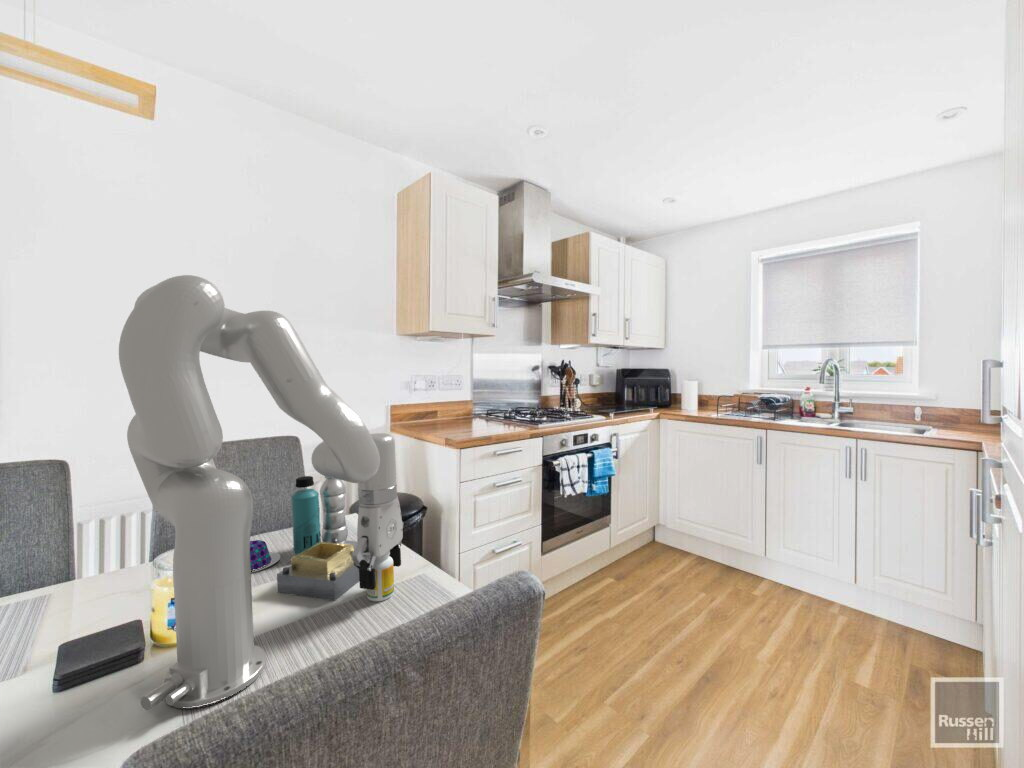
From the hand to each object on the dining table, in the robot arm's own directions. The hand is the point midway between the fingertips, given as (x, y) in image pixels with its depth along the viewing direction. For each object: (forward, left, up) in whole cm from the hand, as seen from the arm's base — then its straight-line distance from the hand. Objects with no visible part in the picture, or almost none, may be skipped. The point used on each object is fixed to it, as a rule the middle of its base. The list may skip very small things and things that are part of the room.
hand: (381, 576), depth 89 cm
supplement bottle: (0, 0, -4) cm, 4 cm away
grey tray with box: (+6, +15, -4) cm, 17 cm away
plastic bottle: (+21, +27, -4) cm, 34 cm away
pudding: (+6, +39, -4) cm, 40 cm away
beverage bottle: (+13, +29, -4) cm, 32 cm away
